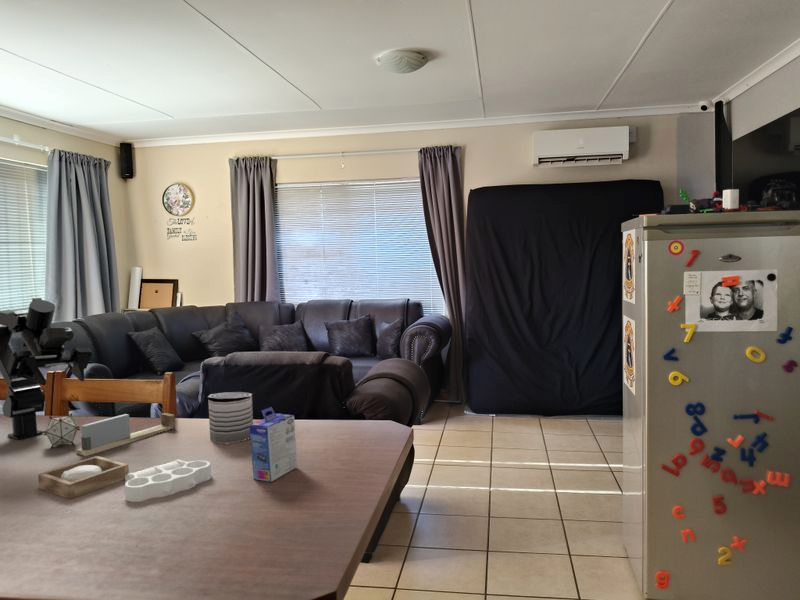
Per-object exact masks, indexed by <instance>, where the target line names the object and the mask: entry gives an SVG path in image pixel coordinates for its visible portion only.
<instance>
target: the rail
mask: <svg viewBox="0 0 800 600" xmlns="http://www.w3.org/2000/svg"><path fill="white" fill-rule="evenodd" d="M160 421H161V423H160V424H159V425H155V426H152V427H149V428H145V429H142V430H139V431H136V432H130V437H128V438H124V439H121V440H118V441H114V442H111V443H108V444H104V445H101V446H98V447H94V448H91V449H90V450H85V449H82V447H81V448H78V449H76V450H75V451H76V454H77V455H79V456H80V455H81V456H83V457H88V456H91V455H94V454H97V453H100V452H103V451H107V450H110V449H115V448H116V447H119V446H123V445H126V444H129V443H133V442H136V441H140V440H143V439H146V438H149V437H152V436H155V435H154V434H156V435H158V434H157V433H159V434H161V433H160V432H162V433H164V432H163V431H165V432H167V430H169V431H171V430H170V429H172V430H174V429H173V428H175V429H176V420H175V414H173V413H167V412H164V413H160ZM151 435H152V436H151ZM148 436H149V437H148ZM145 437H146V438H145Z"/></svg>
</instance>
